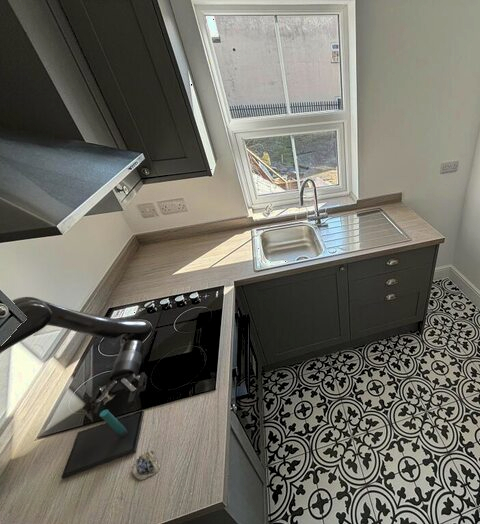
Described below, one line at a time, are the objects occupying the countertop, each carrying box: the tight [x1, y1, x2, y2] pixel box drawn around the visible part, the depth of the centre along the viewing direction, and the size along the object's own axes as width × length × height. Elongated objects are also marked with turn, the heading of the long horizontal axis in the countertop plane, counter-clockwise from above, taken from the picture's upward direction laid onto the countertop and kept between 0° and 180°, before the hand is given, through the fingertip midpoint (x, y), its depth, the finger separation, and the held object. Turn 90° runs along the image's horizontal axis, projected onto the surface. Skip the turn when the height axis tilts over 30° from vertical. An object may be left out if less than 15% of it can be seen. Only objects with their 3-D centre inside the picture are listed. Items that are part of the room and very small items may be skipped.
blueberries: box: [130, 450, 161, 481], centre depth 82 cm, size 7×8×2 cm
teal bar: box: [100, 409, 128, 436], centre depth 86 cm, size 2×2×12 cm
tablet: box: [60, 410, 145, 480], centre depth 88 cm, size 18×13×1 cm
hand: (114, 409), depth 87 cm, fingers open, 8 cm apart
